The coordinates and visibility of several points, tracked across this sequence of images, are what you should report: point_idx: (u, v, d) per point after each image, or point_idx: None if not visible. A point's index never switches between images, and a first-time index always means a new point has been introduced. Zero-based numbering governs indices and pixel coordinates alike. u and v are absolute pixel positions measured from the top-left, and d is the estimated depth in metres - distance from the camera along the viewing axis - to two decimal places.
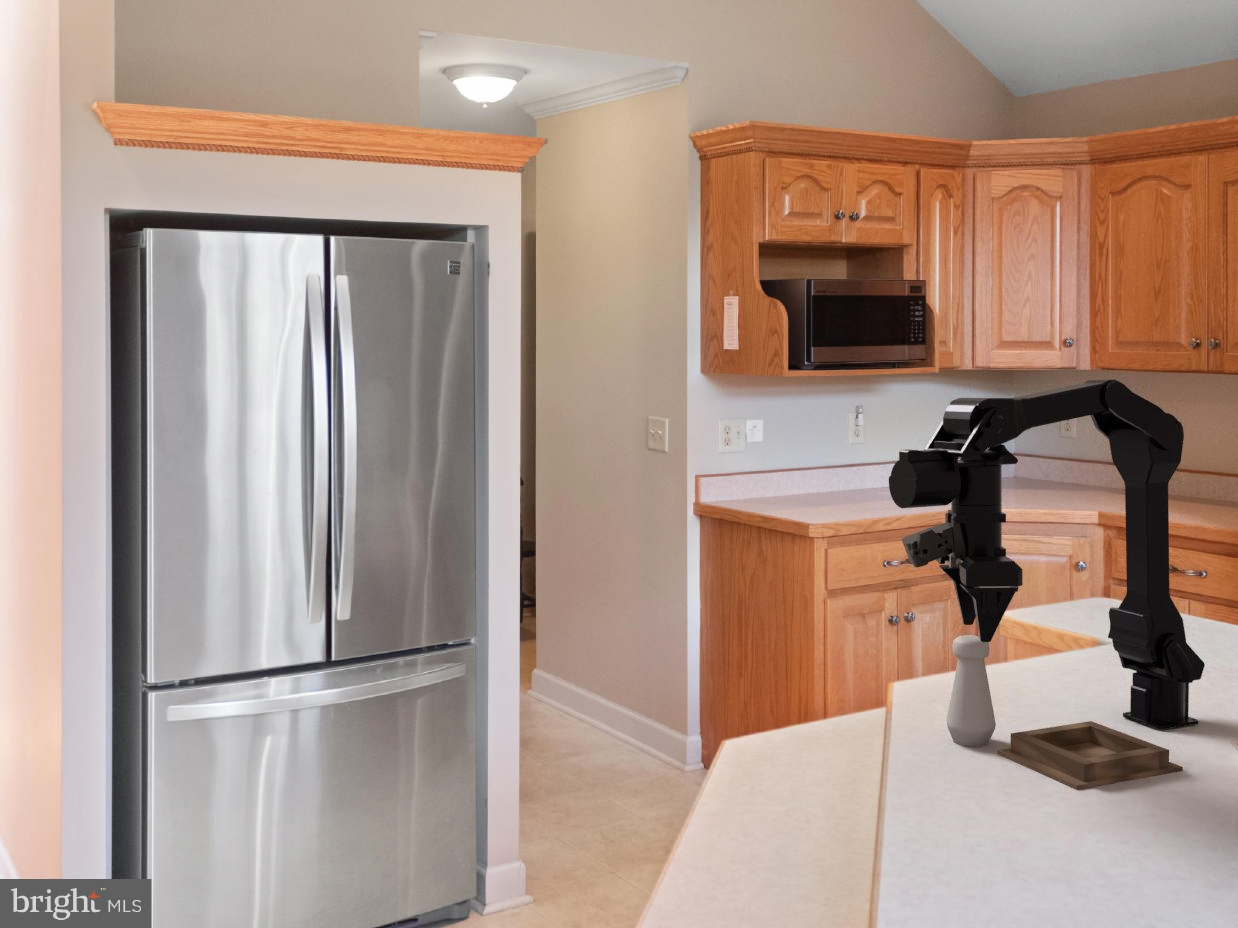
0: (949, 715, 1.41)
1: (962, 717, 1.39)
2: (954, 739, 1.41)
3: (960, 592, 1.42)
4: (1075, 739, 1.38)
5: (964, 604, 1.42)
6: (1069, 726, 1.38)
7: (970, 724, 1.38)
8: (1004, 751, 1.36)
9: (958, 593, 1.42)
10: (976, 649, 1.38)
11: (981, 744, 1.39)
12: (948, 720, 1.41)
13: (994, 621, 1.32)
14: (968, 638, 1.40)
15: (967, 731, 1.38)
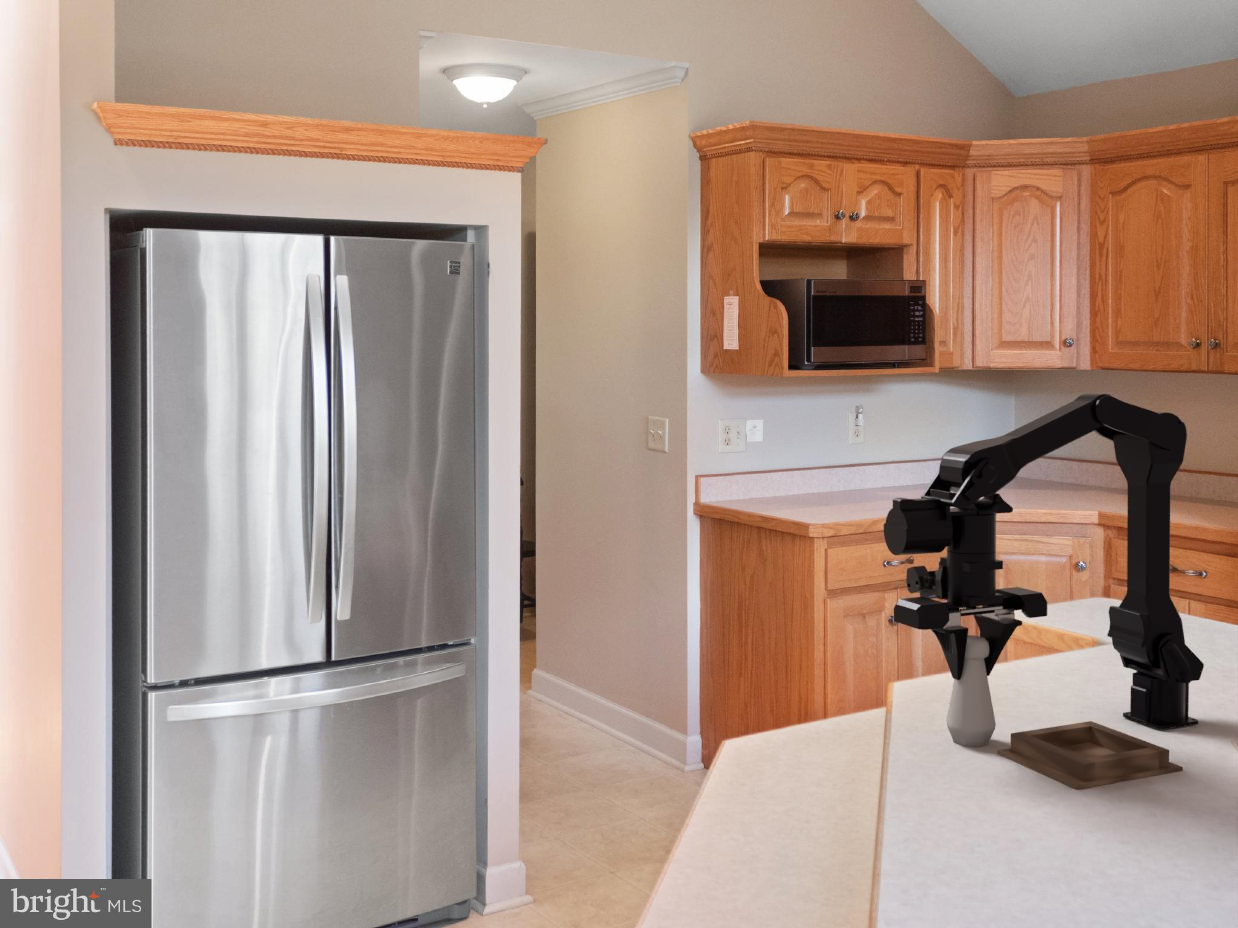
0: (949, 715, 1.41)
1: (962, 717, 1.39)
2: (954, 739, 1.41)
3: None
4: (1075, 739, 1.38)
5: None
6: (1069, 726, 1.38)
7: (970, 724, 1.38)
8: (1004, 751, 1.36)
9: None
10: (975, 649, 1.38)
11: (981, 744, 1.39)
12: (948, 720, 1.41)
13: (954, 660, 1.38)
14: (968, 638, 1.40)
15: (967, 731, 1.38)
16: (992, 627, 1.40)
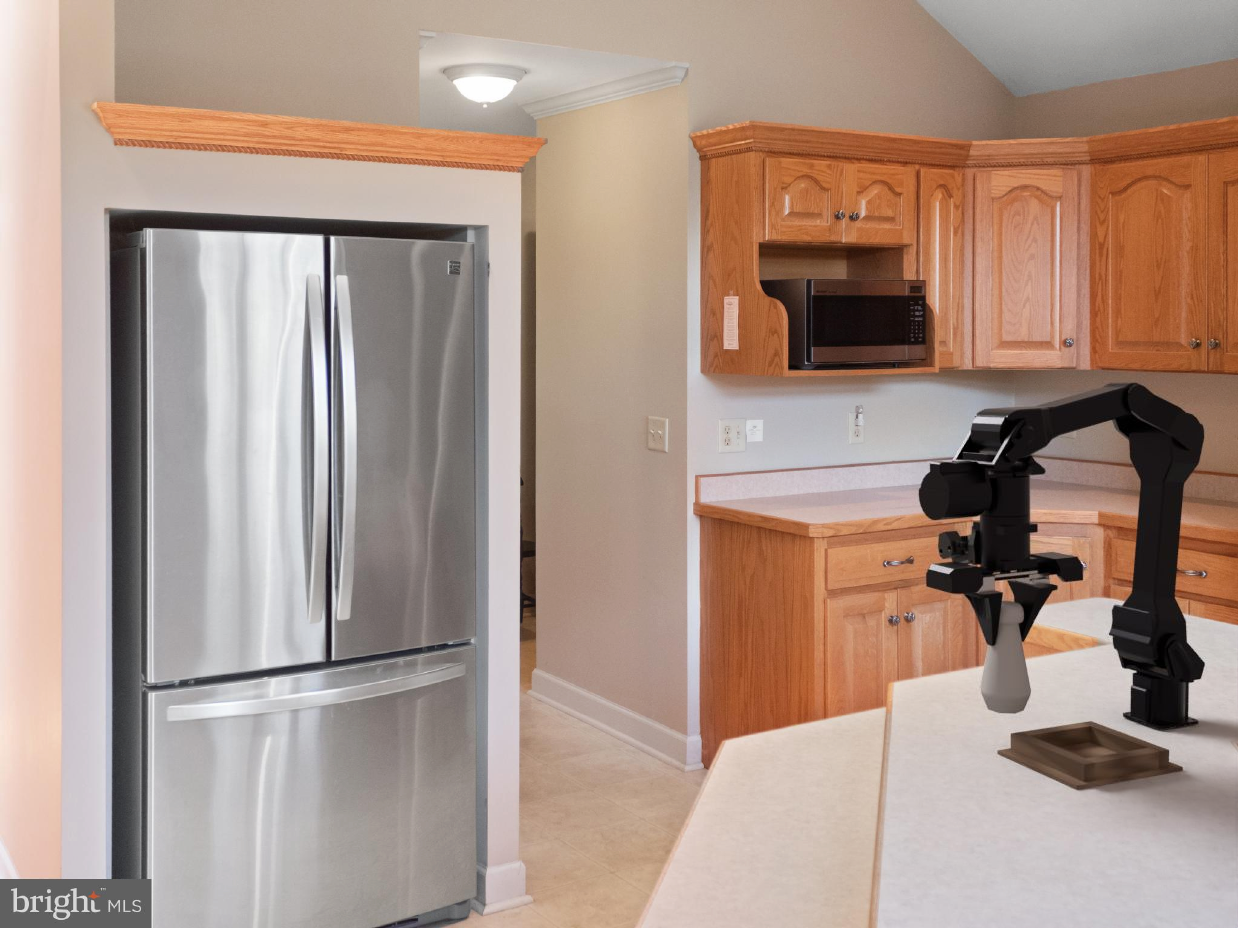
0: (983, 682, 1.38)
1: (996, 683, 1.36)
2: (988, 706, 1.38)
3: None
4: (1075, 739, 1.38)
5: None
6: (1069, 726, 1.38)
7: (1005, 690, 1.36)
8: (1004, 751, 1.36)
9: None
10: (1010, 614, 1.35)
11: (1016, 711, 1.36)
12: (982, 687, 1.38)
13: (988, 625, 1.36)
14: (1002, 603, 1.37)
15: (1002, 697, 1.36)
16: (1027, 592, 1.37)
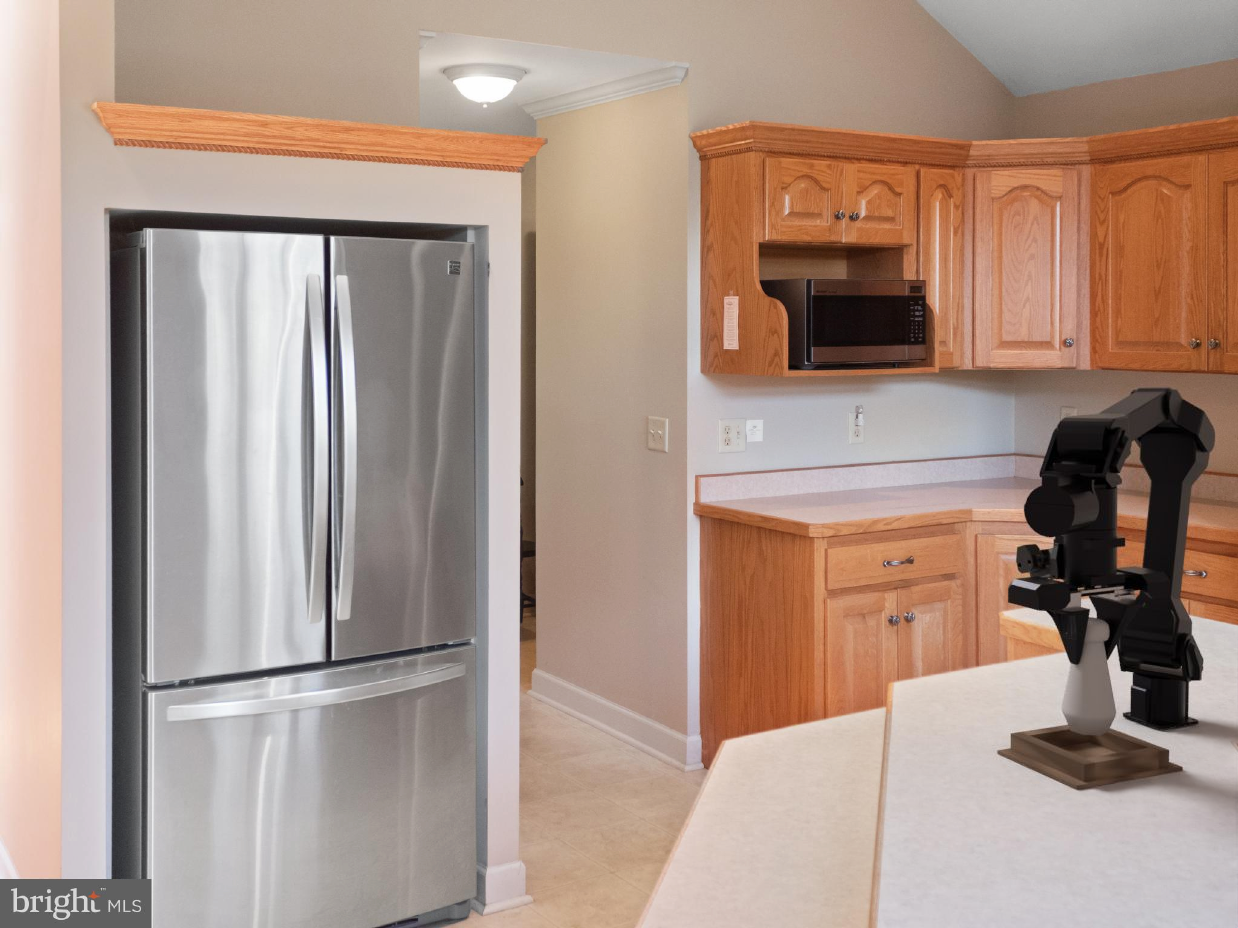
0: (1066, 702, 1.32)
1: (1081, 703, 1.30)
2: (1071, 727, 1.32)
3: None
4: (1075, 739, 1.38)
5: None
6: None
7: (1090, 711, 1.30)
8: (1004, 751, 1.36)
9: None
10: (1096, 632, 1.30)
11: (1101, 733, 1.31)
12: (1065, 707, 1.32)
13: (1072, 643, 1.30)
14: None
15: (1087, 719, 1.30)
16: (1112, 608, 1.32)
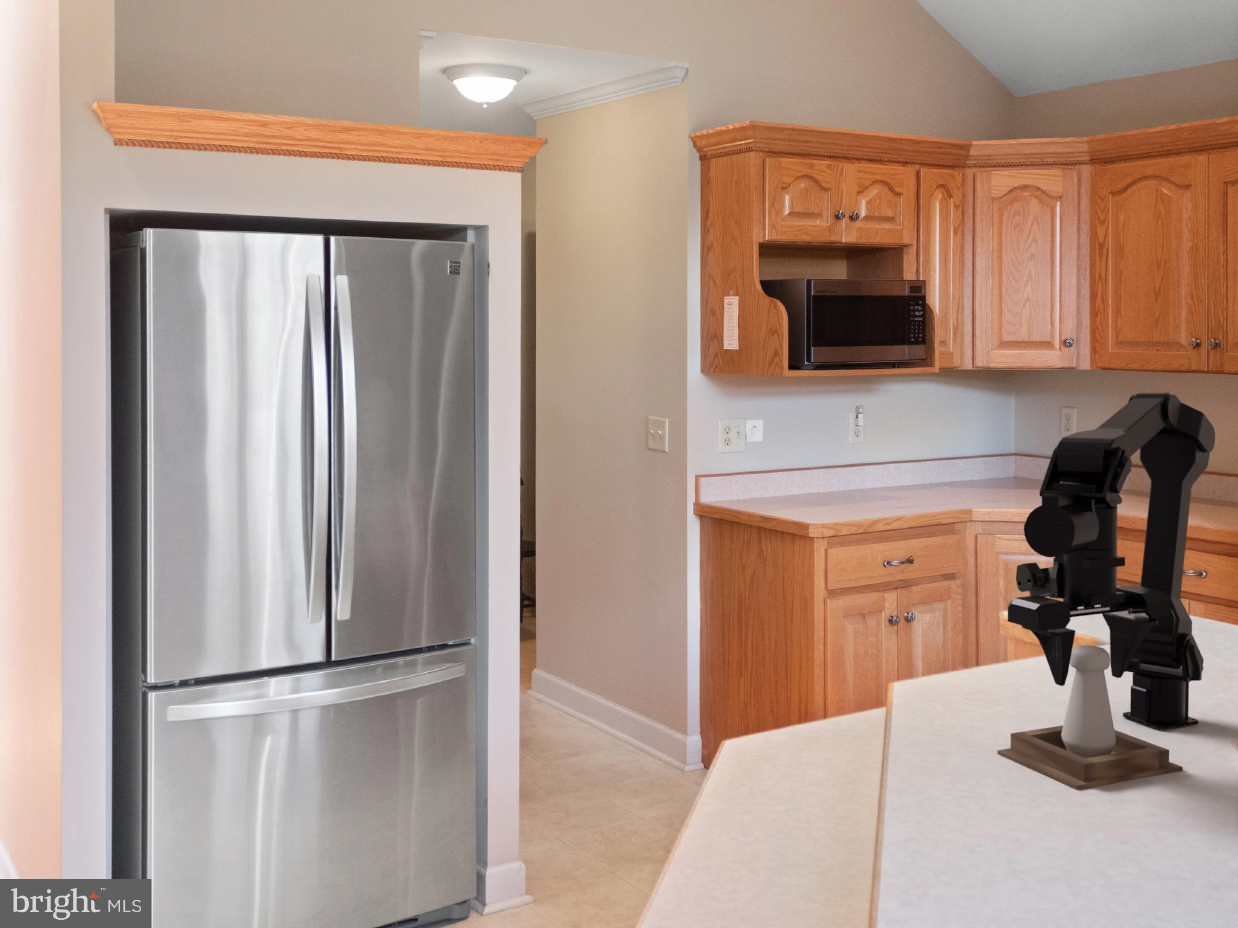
0: (1066, 730, 1.32)
1: (1081, 732, 1.30)
2: None
3: (1112, 641, 1.34)
4: None
5: (1113, 654, 1.34)
6: None
7: (1091, 740, 1.30)
8: (1004, 751, 1.36)
9: (1110, 641, 1.34)
10: (1097, 661, 1.30)
11: None
12: (1065, 735, 1.32)
13: (1058, 665, 1.30)
14: (1087, 648, 1.31)
15: (1087, 747, 1.30)
16: (1125, 626, 1.33)
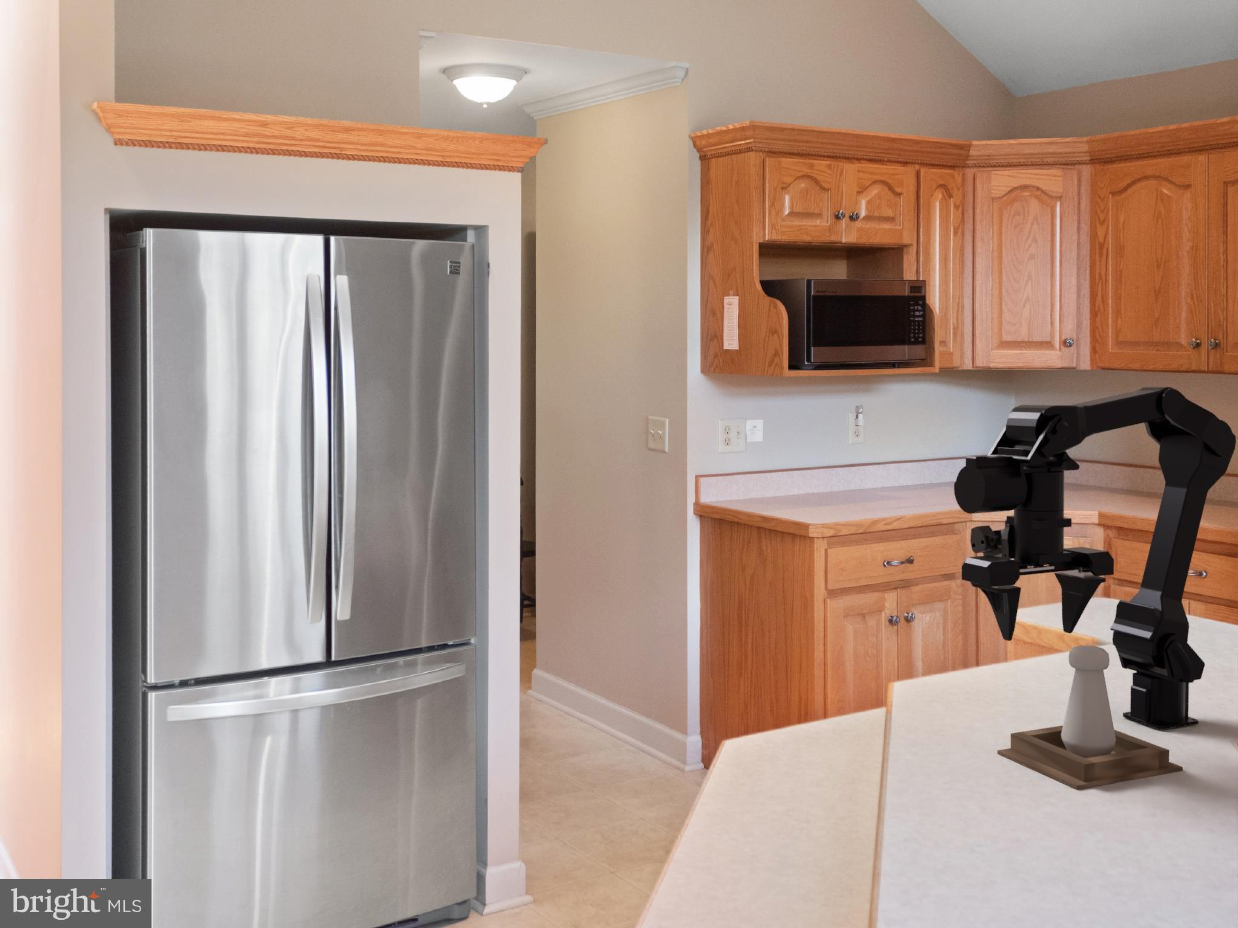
0: (1066, 730, 1.32)
1: (1081, 732, 1.31)
2: None
3: (1063, 599, 1.42)
4: None
5: (1064, 611, 1.42)
6: None
7: (1090, 740, 1.30)
8: (1004, 751, 1.36)
9: (1062, 599, 1.42)
10: (1096, 661, 1.30)
11: None
12: (1065, 735, 1.32)
13: (1005, 620, 1.37)
14: (1087, 648, 1.31)
15: (1087, 747, 1.30)
16: (1075, 584, 1.40)
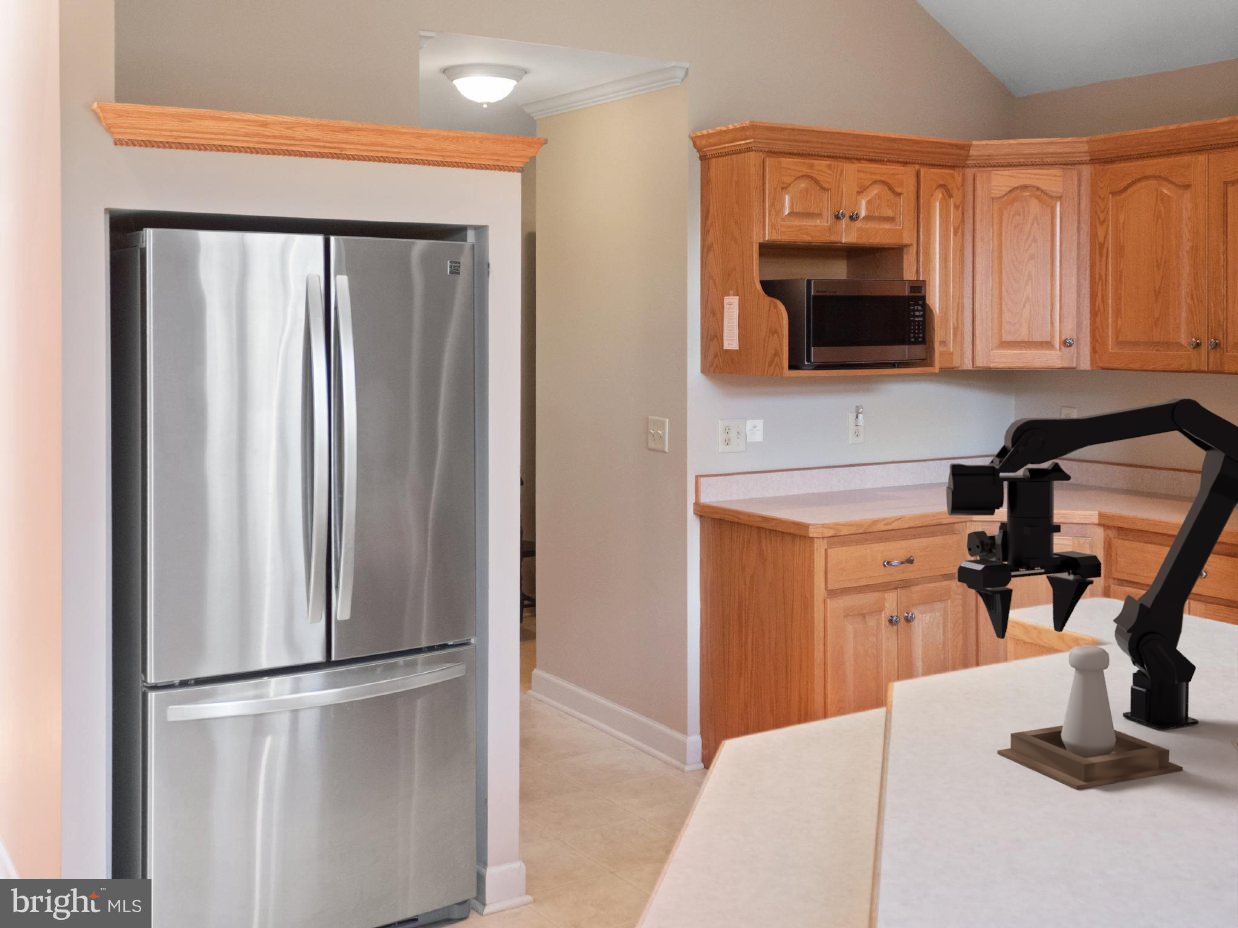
0: (1066, 730, 1.32)
1: (1081, 732, 1.31)
2: None
3: (1054, 599, 1.52)
4: None
5: (1055, 611, 1.51)
6: None
7: (1090, 740, 1.30)
8: (1004, 751, 1.36)
9: (1053, 600, 1.52)
10: (1096, 661, 1.30)
11: None
12: (1065, 735, 1.32)
13: (998, 620, 1.47)
14: (1087, 648, 1.31)
15: (1087, 747, 1.30)
16: (1065, 586, 1.50)
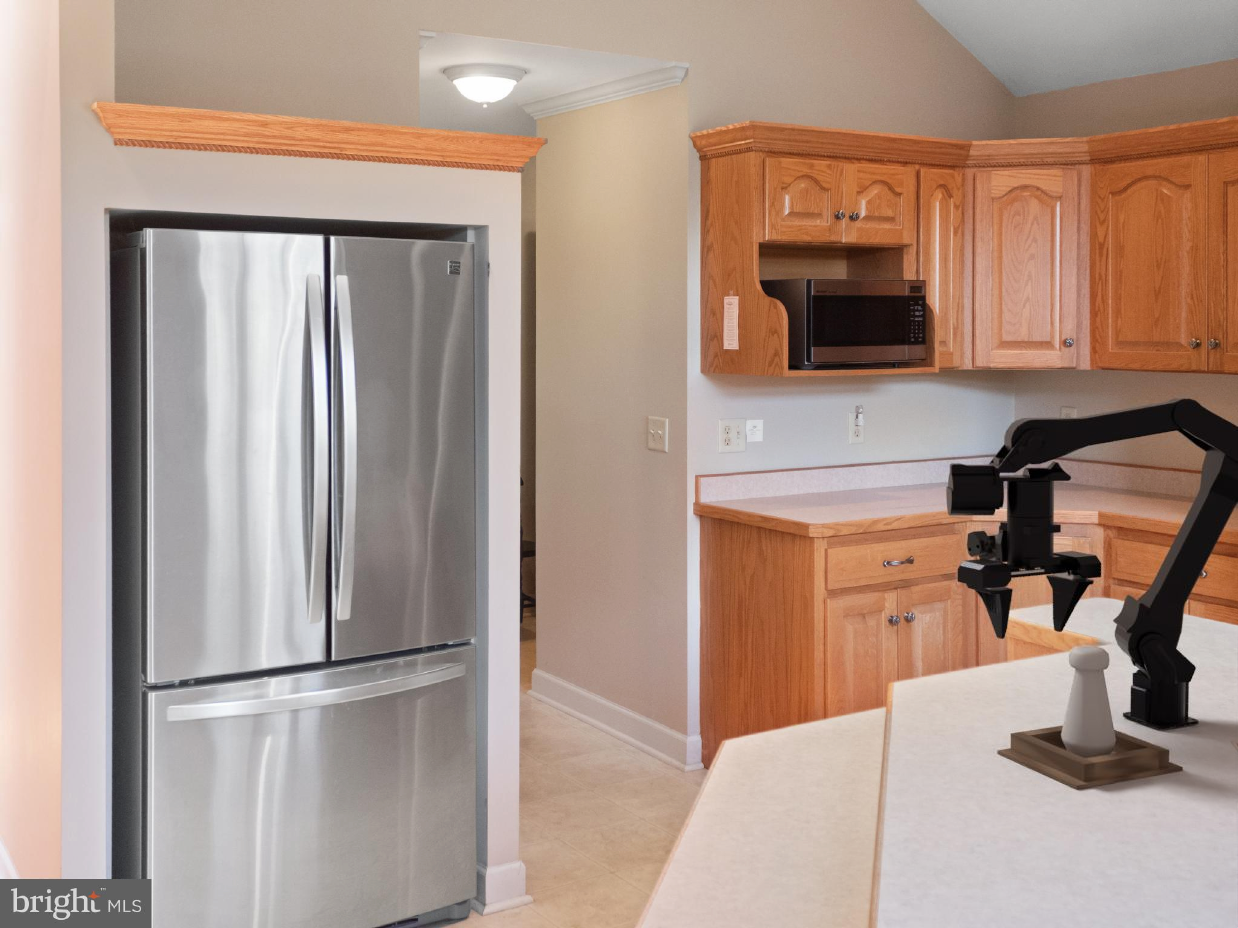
0: (1066, 730, 1.32)
1: (1081, 732, 1.31)
2: None
3: (1054, 599, 1.52)
4: None
5: (1055, 611, 1.51)
6: None
7: (1090, 740, 1.30)
8: (1004, 751, 1.36)
9: (1053, 600, 1.52)
10: (1096, 661, 1.30)
11: None
12: (1065, 735, 1.32)
13: (998, 620, 1.47)
14: (1087, 648, 1.31)
15: (1087, 747, 1.30)
16: (1065, 586, 1.50)
